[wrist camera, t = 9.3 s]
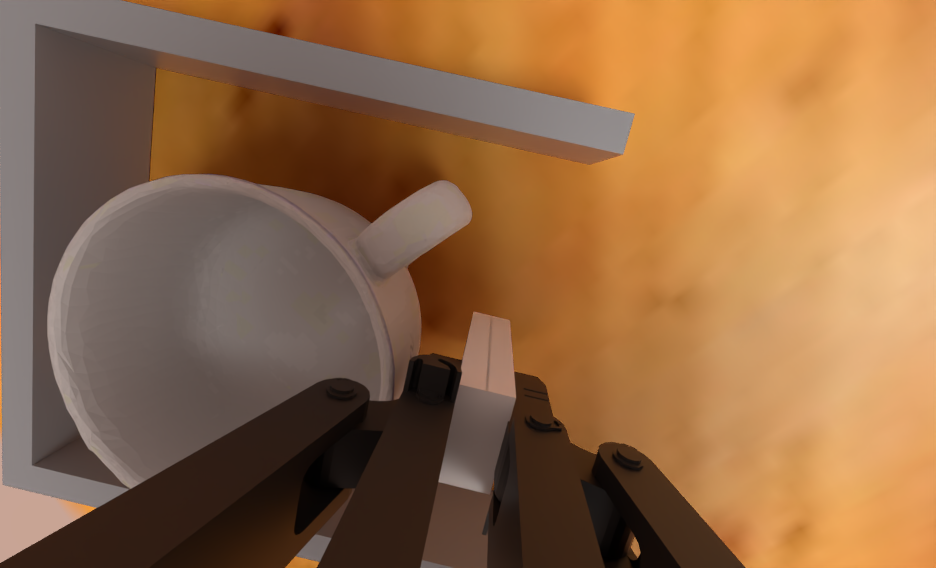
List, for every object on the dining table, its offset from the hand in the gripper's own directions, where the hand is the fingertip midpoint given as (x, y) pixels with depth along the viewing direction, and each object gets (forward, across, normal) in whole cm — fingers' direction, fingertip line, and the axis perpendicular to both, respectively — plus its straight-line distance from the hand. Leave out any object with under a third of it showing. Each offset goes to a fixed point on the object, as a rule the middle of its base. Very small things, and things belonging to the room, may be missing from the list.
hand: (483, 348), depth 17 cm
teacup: (+3, +6, 0) cm, 7 cm away
